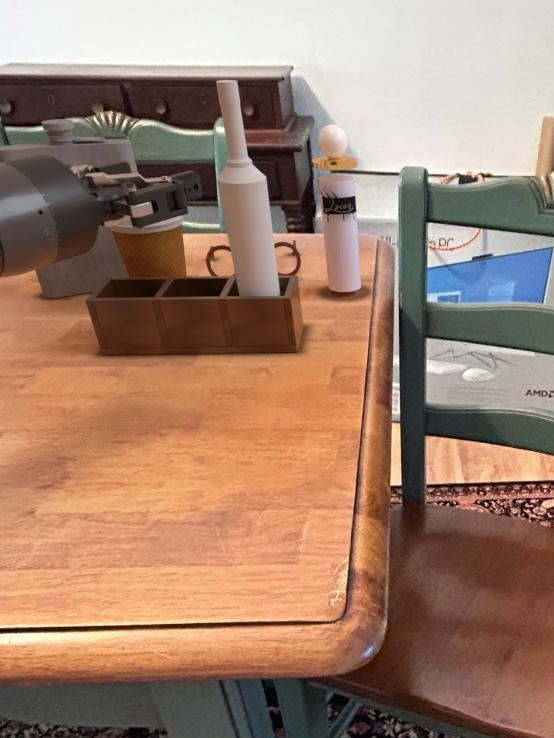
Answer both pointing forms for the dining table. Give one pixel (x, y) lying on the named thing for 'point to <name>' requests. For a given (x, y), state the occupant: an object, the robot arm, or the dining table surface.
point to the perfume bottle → (338, 211)
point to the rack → (193, 316)
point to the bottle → (245, 205)
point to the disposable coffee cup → (152, 248)
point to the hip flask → (104, 255)
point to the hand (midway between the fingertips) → (162, 178)
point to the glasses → (222, 247)
